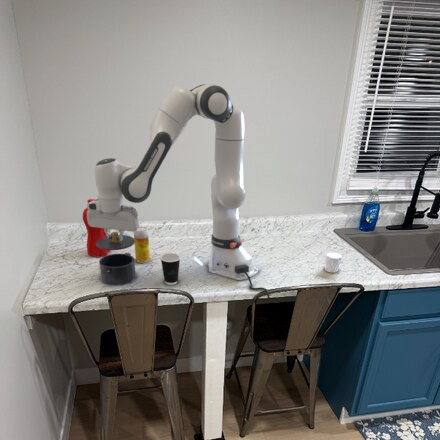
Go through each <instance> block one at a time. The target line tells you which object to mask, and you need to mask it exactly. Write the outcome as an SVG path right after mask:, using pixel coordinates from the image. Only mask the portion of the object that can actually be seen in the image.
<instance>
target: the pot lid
mask: <svg viewBox="0 0 440 440" xmlns="http://www.w3.org/2000/svg"><path fill="white" fill-rule="evenodd" d="M118 235H119V231H111V236H112V239H108V235H107V236H106V237H103V238H101V239H99V240H98V241H97V242H96V244H97V247H99V248H101V249H104V250H110V251H121V250H125V249H128V248H131V247H132V246H134V245H135V240H134V237H133V236H130V235H126V234H123V235H122V236H123V239H122V240H117V236H118Z"/></svg>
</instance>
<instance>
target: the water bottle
mask: <svg viewBox="0 0 440 440" xmlns="http://www.w3.org/2000/svg"><path fill="white" fill-rule="evenodd" d="M93 200H96V199H94V198H89V199H87V200H86V201H87V204H88V203H90V202H91V201H93ZM88 210H89V209H88V208H87V207H85V209H83V212H82V221H83V224H84V225H85V229H86V231H87V236H86V237H87V238H86V252H87V255H89V256H91V257H101V258H103V257H105V256H107V255H109V253H110V252H111V250H104V249H101V248H99V247H97V244H96V242H97V241H98V240H99V239H101V238H103V237H106V236H108V235H107V234H106V233H105V231H104V228H98V227H91V226H90V225H89V224H88V221H87V211H88Z"/></svg>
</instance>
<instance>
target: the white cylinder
mask: <svg viewBox="0 0 440 440" xmlns="http://www.w3.org/2000/svg"><path fill="white" fill-rule="evenodd" d="M324 256H325V257H324V258H325V259H324V271H325V272H327V273H337V272H338V270H339V268H340V264H341V261H342V257H343V256H342V254H340V253H339V252H333V251H330V252H326V253H325V255H324Z"/></svg>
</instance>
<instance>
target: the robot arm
mask: <svg viewBox="0 0 440 440" xmlns="http://www.w3.org/2000/svg"><path fill="white" fill-rule="evenodd" d="M196 115H197V116H200V117H202V118H203V119H206V120H208V119H210V120H211V121H213V123H214V127H215V131H214V132H215V134H214V138H215V139H214V167H215V174H214V175H213V177H212V178H211V182H210V191H211V193H210V194H211V210H212V234H211V239H210V240H211V241H210V243H211V251H210V256H209V257H210V258H209V261H208V265H207V267H208V272H209V273H212V274H216V275H218V276H221V277H225V278H229V279H232V280H236V281H243V280H244V281H245V280H247V279H248V282H249V289H250V290H253V291H257V290H263V291H265V292H266V297H267V300H268V301H271V297H270V292H269V293H267V291H266V290H268V289H267V288H265V287H253V283H252V280H251V278H252V277H254V276H255V275H257V274H258V273H259V267H257V266H256V265H254V258H253V256H252V255H251V254H250V253H249V252H248V251H247V250H246V248H245V247H244V246H243V244H242V243H244V239H241V236H240V235H239V234H240V221H241V219H240V212H239V211H240V210H239V208H240V207H241V206H242V205H243V204H244V202H245V200H246V190H245V172H244V171H245V169H244V151H245V135H246V134H245V133H246V132H245V130H246V129H245V127H246V126H245V117H244V116H245V115H244V113H243V111H242V108H241V109H240V108H239V107H238V106H235V105H233V103H232V100H231V98H230V95H229V93H228V92H227V90H226V89H225V88H223V87H222V86H220V85H217V84H214V83H213V84H212V83H205V84H199V85H197V86H195V87H194V88H191V89H188V88H187V87H185V86H181V85H177V86H175V87H173V88H172V90H170V91H169V92H168V93H167V95H166V96H165V98H164V99H163V100H162V102H161V103H160V104H159V106H158V108H157V110H156V111H155V113H154V114H153V117H152V120H151V122H150V126H149V143H148V147H147V148H146V149H147V150H146V151H145V153H144V155H143V157H142V158H141V160H140V162H139V164H138V166H137V167H136V166H132V165H128V164H126V163H123V162H120V161H119V160H117V158H112V157H110V158H104V159H102V160H99V161H98V162H96V164H95V167H94V178H95V186H96V189H97V198H96V199H95V200H93V201H91V202H90V203H88V202H87V204H86V208H88V209H89V210H88V211H87V221H88V224H89V225H90V226H91V227H98V228H104V231H105V233H106V234H107V236H108V239H112V236H111V233H112V231H111V230H116V231H118V236H117V240H122V239H123V236H122V235H124V233H125V232H133V233H134V232H135V231H136V230H138V228H139V227H140V222H139V221H140V220H139V217H138V216H139V215H138V210H137V209H136V208H135V207H134V206H128V205H124V199H125V200H127V202H131V203H132V204H140V203H143V202H144V201H146V200H148V198H149V197H150V194H151V192H152V185H153V181H154V178H155V176H156V175H157V172H158V171H159V169H160V167H161V166H162V164H163V162H164V161H165V159H166V157H167V155H168V153H169V151H170V150H171V149H172V147H174V144H175V143H176V142H177V141H178V139H179V138H180V136H181V135H182V133H183V132H184V130H185V128H186V127H187V125H188V123H189V121H190V120H191V119H192V118H193V117H195V116H196ZM123 198H124V199H123ZM194 261H196V262H197V263H198V264H199V265H200V266H203V262H201V261H200V259H198V258H197V257H194Z"/></svg>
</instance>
